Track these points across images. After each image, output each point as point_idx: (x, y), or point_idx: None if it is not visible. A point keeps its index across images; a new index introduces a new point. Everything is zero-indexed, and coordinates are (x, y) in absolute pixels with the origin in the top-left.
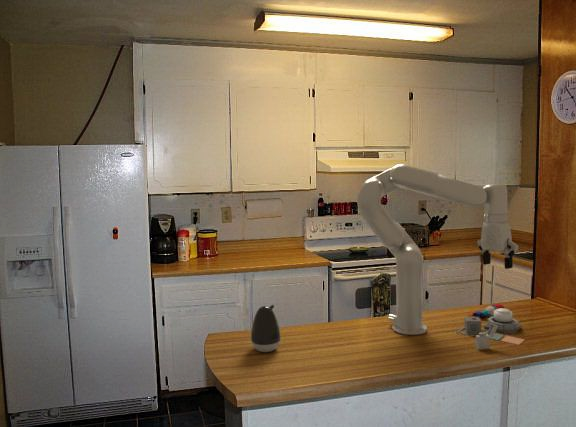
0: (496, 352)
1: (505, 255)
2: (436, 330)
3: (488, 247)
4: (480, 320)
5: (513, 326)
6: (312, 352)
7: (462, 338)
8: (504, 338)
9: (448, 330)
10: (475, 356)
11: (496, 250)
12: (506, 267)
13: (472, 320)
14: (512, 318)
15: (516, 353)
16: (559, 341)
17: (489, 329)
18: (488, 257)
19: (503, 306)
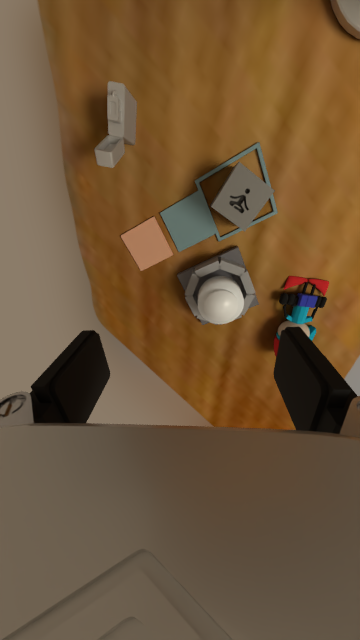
0: (93, 138)
1: (26, 409)
2: (315, 79)
3: (229, 473)
4: (218, 211)
5: (185, 291)
6: None
7: (212, 121)
8: (161, 235)
9: (288, 130)
10: (77, 35)
11: (55, 431)
12: (81, 337)
13: (231, 185)
14: None
15: (78, 187)
16: (117, 319)
17: (116, 144)
18: (294, 398)
19: None
